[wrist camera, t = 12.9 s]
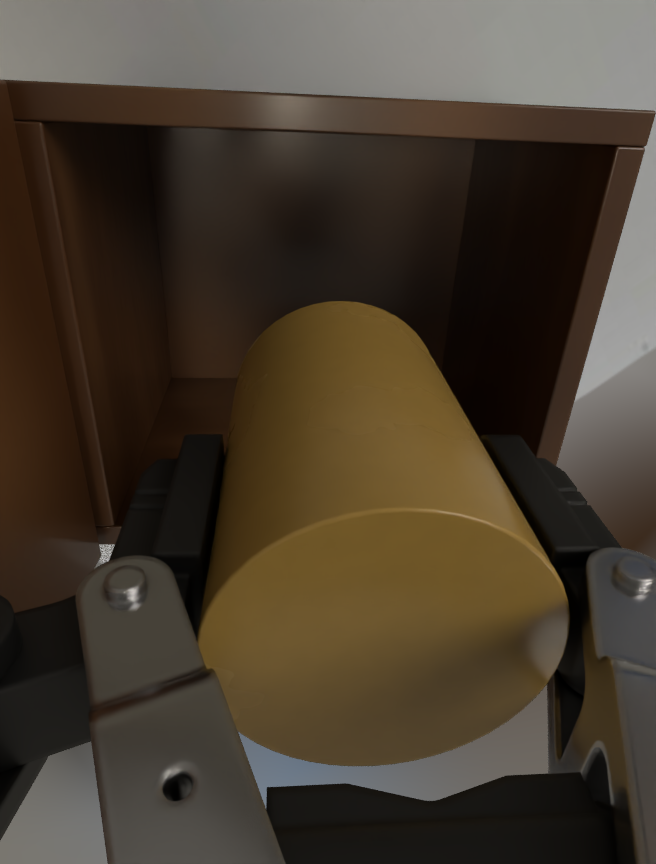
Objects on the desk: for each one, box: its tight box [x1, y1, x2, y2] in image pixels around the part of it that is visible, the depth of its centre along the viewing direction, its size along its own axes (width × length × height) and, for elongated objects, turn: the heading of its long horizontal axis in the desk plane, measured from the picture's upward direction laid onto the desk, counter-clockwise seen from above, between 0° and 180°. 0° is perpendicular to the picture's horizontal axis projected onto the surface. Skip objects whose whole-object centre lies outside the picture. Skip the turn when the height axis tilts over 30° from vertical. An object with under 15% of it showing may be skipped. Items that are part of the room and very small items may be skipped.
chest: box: [3, 80, 655, 544], centre depth 23 cm, size 16×14×13 cm
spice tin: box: [196, 301, 570, 766], centre depth 12 cm, size 5×5×8 cm
